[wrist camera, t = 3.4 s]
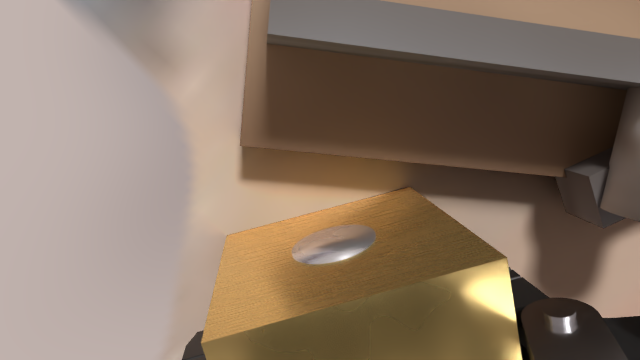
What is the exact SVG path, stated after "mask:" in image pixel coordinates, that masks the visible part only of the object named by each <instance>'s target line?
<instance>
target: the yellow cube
mask: <svg viewBox="0 0 640 360" xmlns="http://www.w3.org/2000/svg"><path fill="white" fill-rule="evenodd" d="M201 345H202V348H203V351H204V354H205V357H206V360H522V355H521V348H520V342H519V335H518V328H517V321H516V315H515V308H514V301H513V295H512V288H511V281H510V274H509V268H508V261H507V257H506V256H504V255H503V254H501V253H500V252H499V251H497V250H496V249H495V248H493V247H492V246H490V245H489V244H488V243H486V242H485V241H484V240H482V239H481V238H479V237H478V236H477V235H475V234H474V233H473V232H471V231H470V230H468V229H467V228H466V227H464V226H463V225H462V224H460V223H459V222H457V221H456V220H455V219H453V218H452V217H451V216H449V215H448V214H446V213H445V212H444V211H442V210H441V209H440V208H438V207H437V206H435V205H434V204H433V203H431V202H430V201H429V200H427V199H426V198H424V197H423V196H422V195H420V194H419V193H418V192H416V191H415V190H413V189H412V188H411V187H408V188H404V189H400V190H396V191H393V192H389V193H385V194H381V195H378V196H374V197H370V198H366V199H363V200H359V201H355V202H351V203H347V204H344V205H340V206H336V207H332V208H329V209H325V210H321V211H317V212H314V213H310V214H306V215H302V216H299V217H295V218H291V219H287V220H283V221H280V222H276V223H272V224H268V225H265V226H261V227H257V228H253V229H250V230H246V231H242V232H238V233H235V234H231V235H227V237H226V241H225V245H224V249H223V254H222V258H221V262H220V266H219V270H218V274H217V279H216V283H215V287H214V291H213V295H212V299H211V303H210V308H209V312H208V316H207V320H206V324H205V328H204V332H203V337H202V341H201Z"/></svg>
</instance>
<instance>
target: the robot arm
mask: <svg viewBox="0 0 640 360" xmlns="http://www.w3.org/2000/svg"><path fill="white" fill-rule="evenodd" d="M508 268H509V274H510V281H511V288H512V295H513V301H514V308H515V315H516V321H517V328H518V335H519V342H520V348H521V355H522V360H640V316H634V317H620V318H602V317H601V315H600V314H599V312H598V311H597V310H596V309H594V308H593V307H592V306H590V305H588V304H586V303H584V302H581V301H578V300H573V299H567V298H549V297H548V296H546V295H545V294H544V293H542V292H541V291H540V290H538V289H537V288H536V287H535V286H533V285H532V284H531V283H529V282H528V281H527V280H525V279H524V278H523V277H522V278H521V277H520V275H519V274H517V273H516V272H515V271H514V270H511V269H510V267H508ZM203 332H204V330H203V331H200V332H197V333H196V335H195V336H194V337H193V338H192V339H191V341H190V342H189V343H188V344H187V346H186V348H185V351H184V355H183V358H182V360H206V357H205V354H204V351H203V348H202V345H201V341H202V337H203Z"/></svg>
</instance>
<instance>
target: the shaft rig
mask: <svg viewBox="0 0 640 360" xmlns="http://www.w3.org/2000/svg"><path fill="white" fill-rule="evenodd" d="M240 146H247V147H258V148H268V149H278V150H288V151H299V152H309V153H319V154H330V155H340V156H350V157H360V158H371V159H381V160H391V161H402V162H412V163H422V164H432V165H443V166H453V167H463V168H474V169H484V170H494V171H504V172H515V173H525V174H535V175H546V176H555V178H556V181H557V184H558V188H559V191H560V194H561V197H562V201H563V204H564V207H565V211H566V212H567V213H569V214H572V215H574V216H576V217H579V218H581V219H583V220H586V221H588V222H590V223H592V224H595V225H597V226H599V227H602V228H605V227H607V226H610V225H612V224H614V223H616V222H618V221H620V220H623V219H625V218H628V219H632V220H636V221H640V0H252V3H251V15H250V28H249V40H248V52H247V65H246V77H245V90H244V102H243V114H242V127H241V139H240Z"/></svg>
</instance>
